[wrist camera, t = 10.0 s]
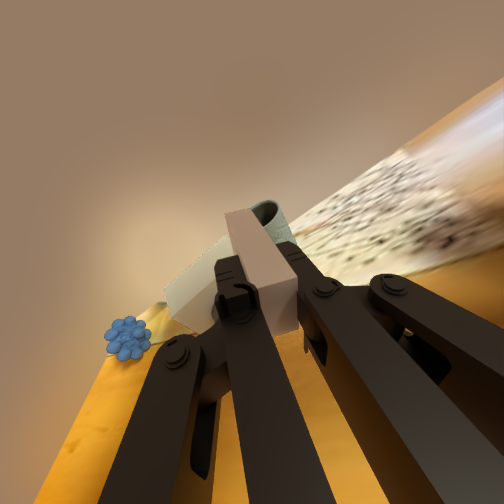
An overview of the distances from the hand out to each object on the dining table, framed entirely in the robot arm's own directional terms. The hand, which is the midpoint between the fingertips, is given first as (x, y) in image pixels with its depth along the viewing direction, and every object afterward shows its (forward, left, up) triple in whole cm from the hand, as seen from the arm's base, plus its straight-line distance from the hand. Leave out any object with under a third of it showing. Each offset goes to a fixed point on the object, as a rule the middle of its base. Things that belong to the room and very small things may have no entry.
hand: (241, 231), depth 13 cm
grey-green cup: (-9, -28, -29) cm, 41 cm away
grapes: (+32, -34, -29) cm, 55 cm away
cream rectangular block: (+7, -20, -29) cm, 36 cm away
